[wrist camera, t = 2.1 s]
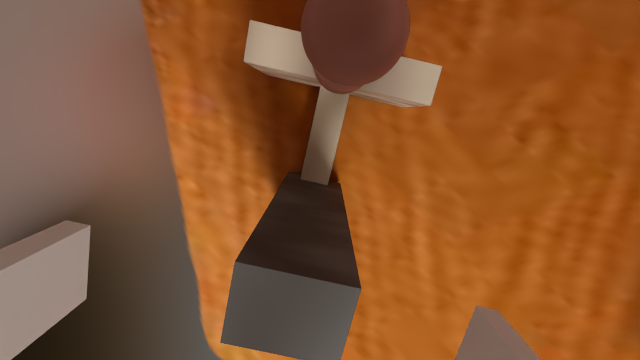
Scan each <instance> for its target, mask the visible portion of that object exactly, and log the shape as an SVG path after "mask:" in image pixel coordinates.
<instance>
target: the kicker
mask: <svg viewBox="0 0 640 360" xmlns="http://www.w3.org/2000/svg"><path fill="white" fill-rule="evenodd" d="M409 31H410V14H409V8H408V5H407V1H406V0H307V2H306V4H305V7H304V10H303V14H302V19H301V32H298V31H294V30H290V29H286V28H282V27H278V26H274V25H269V24H265V23H261V22H257V21H253V20H250V23H249V29H248V36H247V42H246V48H245V54H244V62H245V63H247V64H249V65H250V66H252V67H254V68H255V69H257V70H259V71H260V72H262V73H264V74H265V75H269V76H273V77H277V78H281V79H286V80H290V81H294V82H298V83H303V84H307V85H311V86H315V87H320V91H319V96H318V100H317V105H316V110H315V114H314V119H313V123H312V128H311V132H310V137H309V142H308V146H307V151H306V155H305V160H304V164H303V169H302V174H297V173H292V172H289V173H288V174H287V176H286V178H285V179H284V181H283V183H282V184H281V186H280V188H279V189H278V191H277V193H276V194H275V196H274V198H273V199H272V201H271V203H270V204H269V206H268V208H267V209H266V211H265V213H264V214H263V216H262V218H261V219H260V221H259V223H258V224H257V226H256V227H255V229H254V231H253V232H252V234H251V236H250V237H249V239H248V241H247V242H246V244H245V246H244V247H243V249H242V251H241V252H240V254H239V256H238V257H237V259H236V261H235V264H234V269H233V275H232V281H231V286H230V292H229V297H228V303H227V308H226V314H225V320H224V325H223V331H222V336H221V342H220V343H225V344H230V345H234V346H239V347H244V348H249V349H254V350H259V351H263V352H268V353H273V354H278V355H283V356H288V357H292V358H297V359H302V360H341V357H342V353H343V350H344V346H345V343H346V340H347V336H348V333H349V329H350V326H351V322H352V319H353V315H354V312H355V309H356V305H357V302H358V298H359V295H360V291H361V285H360V280H359V275H358V270H357V265H356V260H355V255H354V250H353V245H352V240H351V235H350V230H349V225H348V220H347V215H346V210H345V205H344V200H343V195H342V190H341V185H340V183H336V182H332V181H329V177H330V173H331V169H332V165H333V161H334V157H335V153H336V148H337V144H338V140H339V136H340V132H341V128H342V124H343V119H344V115H345V111H346V107H347V103H348V99H349V95H353V96H358V97H362V98H366V99H370V100H375V101H379V102H383V103H387V104H391V105H396V106H400V107H413V106H431V102H432V99H433V96H434V92H435V89H436V86H437V82H438V79H439V76H440V72H441V69H442V66H439V65H435V64H431V63H426V62H422V61H418V60H414V59H410V58H406V57H402V56H401V55H402V53H403V51H404V49H405V47H406V44H407V40H408V36H409Z"/></svg>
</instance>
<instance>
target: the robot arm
mask: <svg viewBox="0 0 640 360" xmlns="http://www.w3.org/2000/svg"><path fill="white" fill-rule="evenodd" d="M89 240H90V225H86V224H81V223H76V222H71V221H64V222H62V223H59V224H57V225H55V226H52V227H50V228H48V229H46V230H44V231H41V232H39V233H36V234H34V235H32V236H30V237H27V238H25V239H23V240H20V241H18V242H16V243H14V244H11V245H9V246H7V247H5V248H2V249H0V360H11V359H12V358H14V357H15V356H16V355H17V354H18V353H20V352H21V351H22V350H23V349H24V348H26V347H27V346H28V345H30V344H31V343H32V342H33V341H34V340H36V339H37V338H38V337H39V336H41V335H42V334H43V333H44V332H46V331H47V330H48V329H49V328H51V327H52V326H53V325H54V324H55V323H57V322H58V321H59V320H60V319H62V318H63V317H64V316H66V315H67V314H68V313H69V312H70V311H72V310H73V309H74V308H75V307H77V306H78V305H79V304H80V303H82V302H83V301H84V300H85V299H86V295H87V277H88V259H89ZM455 360H541V359H540V358H539V357H538V356H537V355H536V354H535V353H534V351H533V350H532V349H531V348H530V347H529V346H528V345H527V343H526V342H525V341H524V340H523V339H522V338H521V337H520V335H519V334H518V333H517V332H516V331H515V330H514V329H513V327H512V326H511V325H510V324H509V323H508V322H507V321H506V319H505V318H504V317H503V316H502V315H501V314H500V313H499V311H498V310H494V309H489V308H484V307H480V306H476V308H475V311H474V313H473V316H472V318H471V321H470V323H469V326H468V328H467V331H466V333H465V336H464V338H463V341H462V343H461V346H460V348H459V351H458V353H457V356H456V358H455Z"/></svg>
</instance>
